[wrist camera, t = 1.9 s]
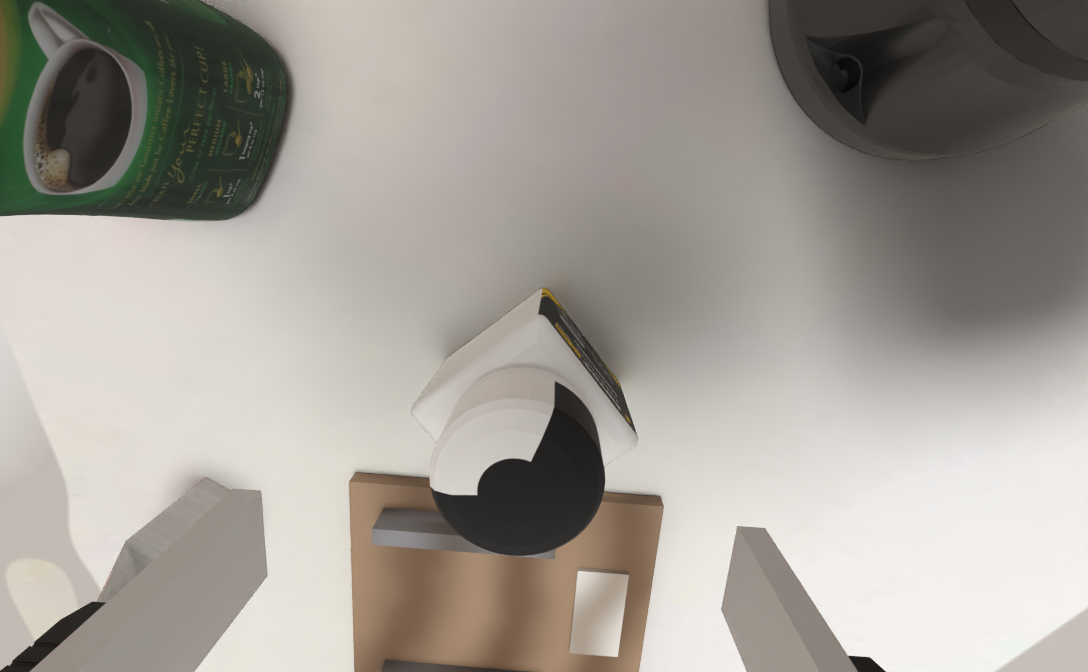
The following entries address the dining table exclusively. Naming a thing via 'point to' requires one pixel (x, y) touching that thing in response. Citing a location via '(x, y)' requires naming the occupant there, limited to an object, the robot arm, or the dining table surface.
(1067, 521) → the dining table surface
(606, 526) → the stand
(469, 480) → the medicine bottle
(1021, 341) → the dining table surface
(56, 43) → the coffee jar
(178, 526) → the grey boxy piece
